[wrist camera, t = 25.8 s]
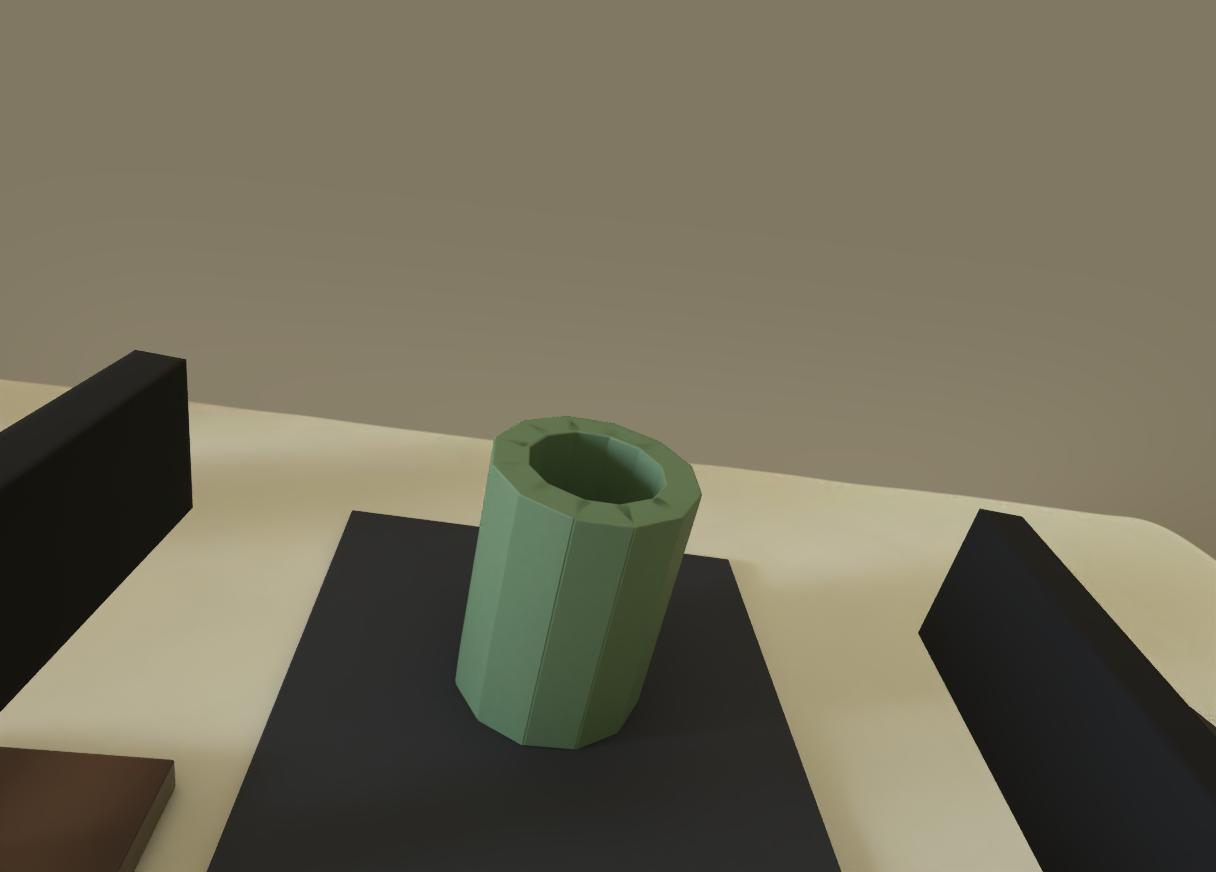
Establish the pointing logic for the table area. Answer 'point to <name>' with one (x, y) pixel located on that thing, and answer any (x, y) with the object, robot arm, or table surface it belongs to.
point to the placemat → (498, 766)
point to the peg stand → (78, 809)
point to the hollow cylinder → (571, 578)
